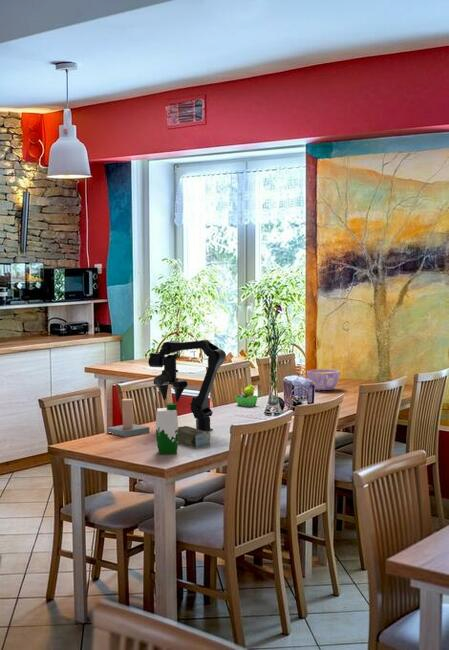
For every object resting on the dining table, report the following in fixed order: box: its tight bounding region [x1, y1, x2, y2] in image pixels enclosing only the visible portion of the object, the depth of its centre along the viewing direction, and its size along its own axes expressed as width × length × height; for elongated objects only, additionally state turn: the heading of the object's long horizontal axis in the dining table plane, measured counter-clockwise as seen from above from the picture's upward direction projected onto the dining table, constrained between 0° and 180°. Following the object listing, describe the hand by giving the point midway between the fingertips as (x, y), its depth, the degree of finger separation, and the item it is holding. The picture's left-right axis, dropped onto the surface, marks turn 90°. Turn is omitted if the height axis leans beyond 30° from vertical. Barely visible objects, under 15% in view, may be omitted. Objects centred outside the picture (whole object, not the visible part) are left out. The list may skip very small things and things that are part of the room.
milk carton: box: [155, 402, 179, 455], centre depth 363 cm, size 9×9×20 cm
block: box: [121, 398, 134, 428], centre depth 408 cm, size 4×4×13 cm
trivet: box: [106, 423, 151, 438], centre depth 409 cm, size 14×14×2 cm
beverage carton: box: [178, 425, 211, 449], centre depth 381 cm, size 8×19×7 cm, turn 35°
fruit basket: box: [234, 384, 259, 407], centre depth 480 cm, size 11×9×11 cm
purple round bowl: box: [306, 368, 341, 391], centre depth 531 cm, size 20×20×12 cm
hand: (170, 400), depth 418 cm, fingers open, 9 cm apart
